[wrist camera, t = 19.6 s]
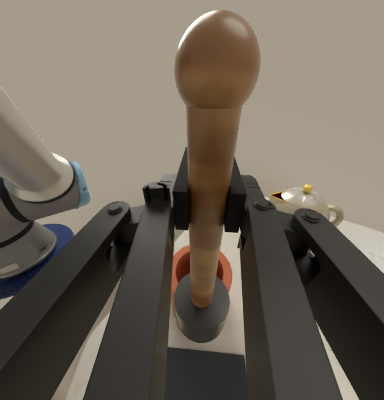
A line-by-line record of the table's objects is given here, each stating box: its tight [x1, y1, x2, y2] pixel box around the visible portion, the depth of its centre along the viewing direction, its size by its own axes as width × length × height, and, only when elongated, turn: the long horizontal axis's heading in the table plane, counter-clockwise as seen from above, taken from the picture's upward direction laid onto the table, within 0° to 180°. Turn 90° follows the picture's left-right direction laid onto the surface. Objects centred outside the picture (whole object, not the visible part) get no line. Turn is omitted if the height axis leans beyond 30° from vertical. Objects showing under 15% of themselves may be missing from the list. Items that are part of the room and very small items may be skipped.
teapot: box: [269, 184, 344, 227], centre depth 42 cm, size 18×14×16 cm
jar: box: [171, 245, 232, 313], centre depth 31 cm, size 11×11×10 cm
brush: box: [174, 10, 260, 343], centre depth 12 cm, size 6×6×24 cm
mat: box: [164, 347, 248, 400], centre depth 23 cm, size 14×10×1 cm
